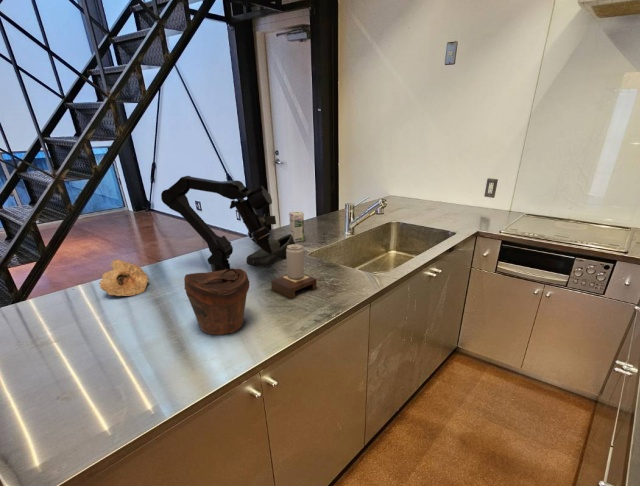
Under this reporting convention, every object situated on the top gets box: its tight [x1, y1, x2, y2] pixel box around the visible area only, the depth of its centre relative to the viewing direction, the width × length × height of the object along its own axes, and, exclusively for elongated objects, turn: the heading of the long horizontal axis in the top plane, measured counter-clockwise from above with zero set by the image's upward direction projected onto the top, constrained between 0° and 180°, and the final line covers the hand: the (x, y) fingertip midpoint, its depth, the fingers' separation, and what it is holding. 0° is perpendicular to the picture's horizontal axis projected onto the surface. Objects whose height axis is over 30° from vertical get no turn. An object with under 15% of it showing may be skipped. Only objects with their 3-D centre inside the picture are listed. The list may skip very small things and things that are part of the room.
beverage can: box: [285, 243, 305, 279], centre depth 140 cm, size 6×6×12 cm
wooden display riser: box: [270, 273, 317, 300], centre depth 142 cm, size 13×11×4 cm
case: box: [183, 268, 250, 336], centre depth 114 cm, size 18×20×18 cm
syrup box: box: [288, 210, 305, 243], centre depth 196 cm, size 6×6×14 cm
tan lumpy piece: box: [98, 258, 150, 297], centre depth 139 cm, size 18×14×8 cm
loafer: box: [246, 233, 296, 268], centre depth 168 cm, size 10×29×10 cm, turn 152°
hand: (268, 252), depth 145 cm, fingers open, 9 cm apart
